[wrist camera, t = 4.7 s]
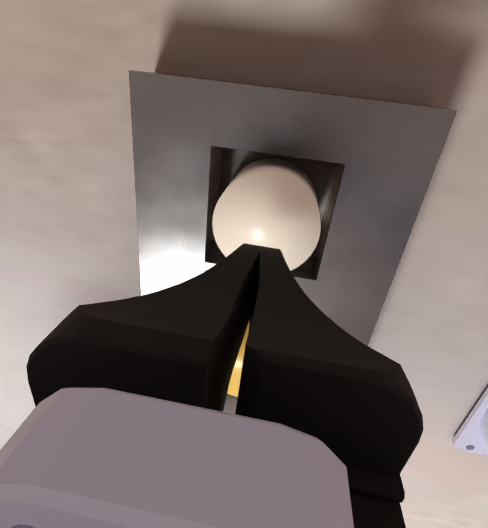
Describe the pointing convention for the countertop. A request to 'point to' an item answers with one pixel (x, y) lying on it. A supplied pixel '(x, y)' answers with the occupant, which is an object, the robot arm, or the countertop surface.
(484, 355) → the countertop surface
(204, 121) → the button panel
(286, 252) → the cream button
